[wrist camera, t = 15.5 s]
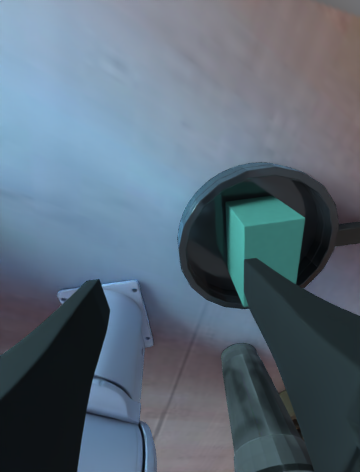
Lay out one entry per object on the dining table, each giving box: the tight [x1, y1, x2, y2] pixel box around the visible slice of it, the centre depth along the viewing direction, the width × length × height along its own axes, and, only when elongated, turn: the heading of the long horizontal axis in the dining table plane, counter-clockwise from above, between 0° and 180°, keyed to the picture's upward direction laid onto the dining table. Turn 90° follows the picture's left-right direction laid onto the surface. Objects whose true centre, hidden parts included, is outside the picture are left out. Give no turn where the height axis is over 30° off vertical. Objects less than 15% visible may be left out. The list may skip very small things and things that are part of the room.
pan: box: [177, 162, 339, 309], centre depth 20 cm, size 13×13×2 cm
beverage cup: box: [221, 343, 314, 472], centre depth 20 cm, size 7×7×20 cm
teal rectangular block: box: [226, 196, 305, 307], centre depth 18 cm, size 7×4×5 cm, turn 7°
